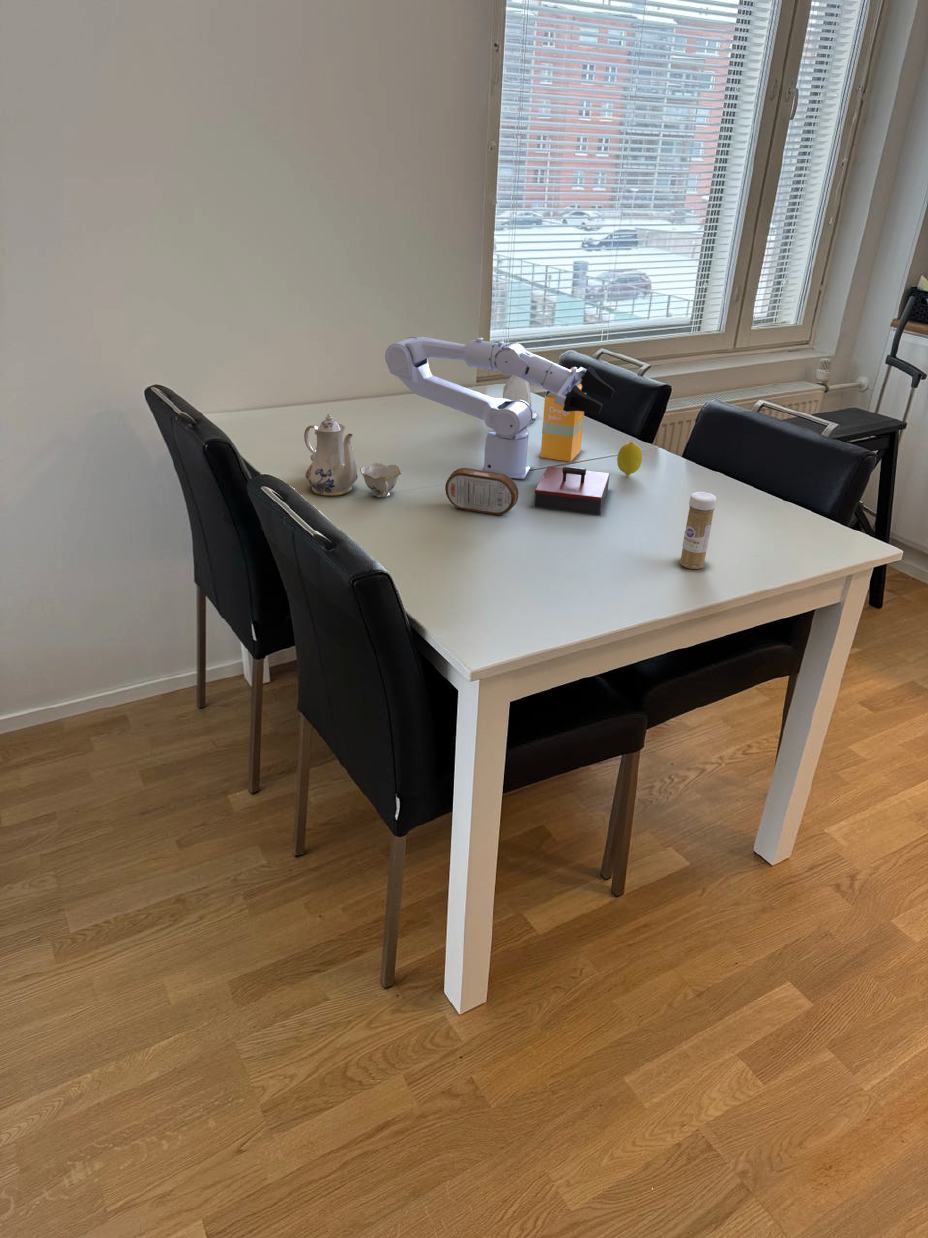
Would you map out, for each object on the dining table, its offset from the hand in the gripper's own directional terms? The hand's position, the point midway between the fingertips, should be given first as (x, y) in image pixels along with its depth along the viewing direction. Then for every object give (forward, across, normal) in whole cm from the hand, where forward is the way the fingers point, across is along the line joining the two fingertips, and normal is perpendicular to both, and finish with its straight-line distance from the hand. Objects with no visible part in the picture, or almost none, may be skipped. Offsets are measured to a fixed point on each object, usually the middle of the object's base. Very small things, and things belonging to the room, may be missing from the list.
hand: (606, 401), depth 192 cm
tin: (-12, -29, +18) cm, 36 cm away
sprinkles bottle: (+31, -33, +4) cm, 45 cm away
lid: (+2, -13, +13) cm, 19 cm away
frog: (-28, +35, +36) cm, 57 cm away
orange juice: (-8, +13, +26) cm, 30 cm away
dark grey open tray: (+2, -13, +17) cm, 21 cm away
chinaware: (-42, -31, +26) cm, 59 cm away
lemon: (+9, +7, +19) cm, 22 cm away
